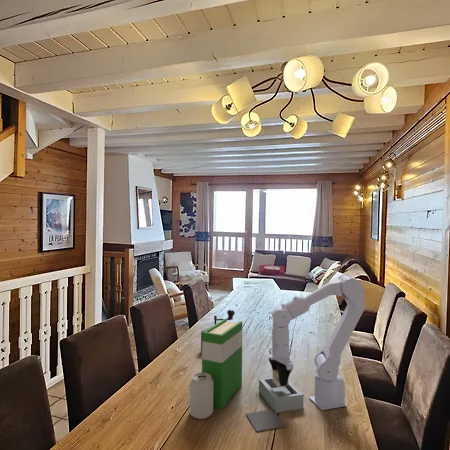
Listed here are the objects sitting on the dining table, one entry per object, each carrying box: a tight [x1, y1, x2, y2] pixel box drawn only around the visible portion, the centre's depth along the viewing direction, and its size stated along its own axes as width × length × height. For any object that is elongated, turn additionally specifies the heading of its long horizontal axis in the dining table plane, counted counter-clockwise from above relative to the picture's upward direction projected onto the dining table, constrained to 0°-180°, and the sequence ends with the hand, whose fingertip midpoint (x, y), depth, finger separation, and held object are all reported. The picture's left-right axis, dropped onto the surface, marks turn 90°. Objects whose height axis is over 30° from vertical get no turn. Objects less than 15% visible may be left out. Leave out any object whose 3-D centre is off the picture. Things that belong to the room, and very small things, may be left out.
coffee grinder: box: [200, 309, 235, 352], centre depth 161 cm, size 16×11×18 cm
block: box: [272, 370, 288, 387], centre depth 114 cm, size 4×4×4 cm
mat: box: [245, 409, 286, 433], centre depth 101 cm, size 9×9×1 cm
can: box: [189, 372, 214, 420], centre depth 105 cm, size 8×8×12 cm
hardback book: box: [201, 318, 243, 410], centre depth 117 cm, size 18×7×24 cm, turn 155°
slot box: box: [258, 376, 305, 414], centre depth 114 cm, size 10×14×5 cm
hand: (280, 382), depth 114 cm, fingers closed on block, 4 cm apart
